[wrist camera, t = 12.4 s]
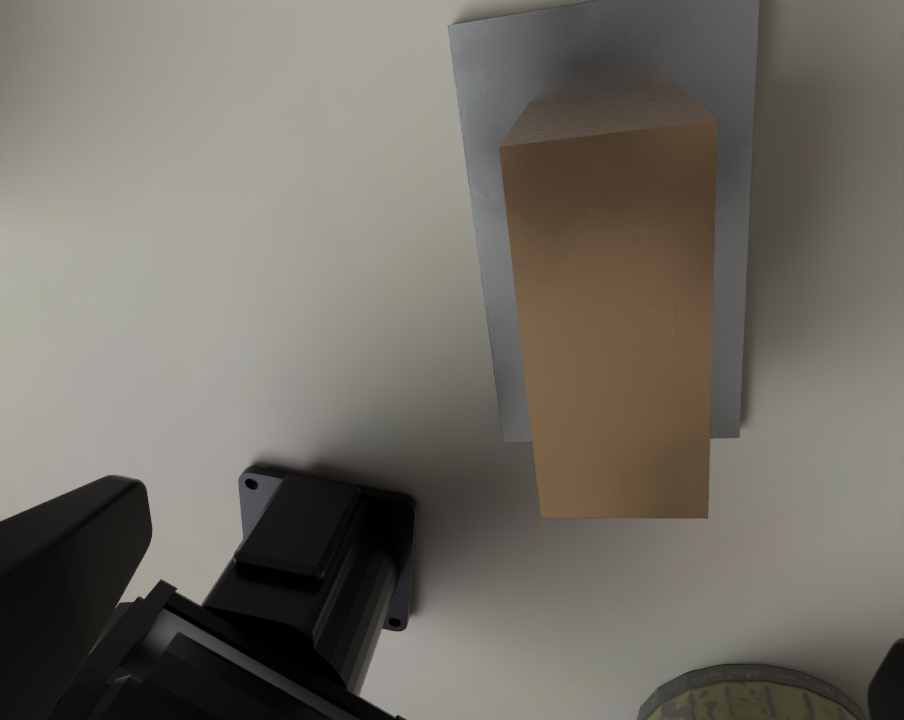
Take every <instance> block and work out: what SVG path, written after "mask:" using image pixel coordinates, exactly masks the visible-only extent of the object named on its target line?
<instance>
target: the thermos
mask: <svg viewBox="0 0 904 720" xmlns="http://www.w3.org/2000/svg"><path fill="white" fill-rule="evenodd" d="M637 720H866V719H865V717H864V715H863V713H862V711H861V710H860V708H859V707H858V706H857V705H856V704H855V703H853V702H852V701H851V700H850V699H849V698H847V697H846V696H845V695H844V694H843V693H841V692H840V691H839V690H838V689H836V688H835V687H834V686H831V685H829V684H827V683H824V682H822V681H820V680H818V679H815V678H813V677H811V676H808V675H806V674H804V673H802V672H798V671H792V670H787V669H782V668H777V667H772V666H766V665H720V666H716V667H711V668H707V669H703V670H698V671H694V672H690V673H686V674H684V675H682V676H680V677H678V678H676V679H674V680H673V681H671V682H669V683H667V684H665V685H663V686H661V687H659V688H658V689H657V690H656V691H655V692H654V693H653V694H652V695H651V697H650V698H649V699H648V700H647V701H646V702H645V703H644V704H643V705H642V706H641V708H640V711H639V715H638V718H637Z"/></svg>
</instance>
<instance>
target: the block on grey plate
mask: <svg viewBox="0 0 904 720" xmlns="http://www.w3.org/2000/svg"><path fill="white" fill-rule="evenodd" d="M759 3H760V0H598V1H592V2H586V3H580V4H574V5H568V6H562V7H556V8H550V9H544V10H538V11H532V12H525V13H519V14H513V15H507V16H501V17H495V18H489V19H483V20H477V21H471V22H465V23H459V24H453V25H447V26H448V33H449V40H450V48H451V55H452V63H453V70H454V77H455V85H456V92H457V100H458V107H459V115H460V122H461V129H462V137H463V144H464V152H465V159H466V167H467V174H468V181H469V189H470V196H471V204H472V211H473V218H474V226H475V233H476V241H477V248H478V256H479V263H480V270H481V278H482V285H483V293H484V300H485V308H486V315H487V322H488V330H489V337H490V345H491V352H492V360H493V367H494V374H495V382H496V389H497V397H498V404H499V411H500V419H501V426H502V434H503V441H504V443H505V442H532V446H533V455H534V464H535V472H536V481H537V490H538V499H539V508H540V517H541V518H708V498H709V456H710V438H739V434H740V412H741V391H742V369H743V348H744V326H745V305H746V283H747V261H748V240H749V218H750V197H751V175H752V154H753V132H754V111H755V89H756V67H757V46H758V24H759Z"/></svg>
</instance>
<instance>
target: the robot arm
mask: <svg viewBox="0 0 904 720" xmlns="http://www.w3.org/2000/svg"><path fill="white" fill-rule="evenodd" d="M251 479H254V480H255V481H256V482H257V483H255V482H253V481H252V480H251ZM238 483H239V494H240V505H241V517H242V528H243V541H242V542H241V544H240V545H239V547H238V548H237V550H236V551H235V553H234V556H233V557H232V559H231V560H230V562H229V563H228V565H227V566H226V568H225V570H224V571H223V573H222V574H221V576H220V577H219V579H218V580H217V582H216V583H215V585H214V586H213V588H212V589H211V591H210V592H209V594H208V595H207V597H206V598H205V600H204V601H203V603H202V604H201V606H200V605H199V604H197V603H195V602H193V601H192V600H190V599H188V598H186V597H185V596H183V595H181V594H179V593H178V592H176V590H177V588H176V587H174V586H172V585H170V584H169V583H167V582H165V581H163V580H162V579H161V580H160V581H159V582H158V583H157V585H156V586H155V587H154V588H153V589H152V591H151V592H150V593H149V594H148V595H147V597H146V598H145V599H143V598H142V597H140V596H139V597H138V598H137V599H136V600H135V601H134V602H123V603H119V605H118V606H117V604H118V602H119V600H120V598H121V596H122V595H123V593H124V591H125V589H126V587H127V586H128V584H129V582H130V580H131V578H132V577H133V575H134V573H135V571H136V569H137V567H138V566H139V564H140V562H141V560H142V558H143V557H144V555H145V553H146V551H147V549H148V547H149V544H150V542H151V538H152V523H151V516H150V509H149V503H148V496H147V490H146V486H145V485H144V483H143V482H142V481H140V480H138V479H133V478H129V477H124V476H119V475H108V476H105V477H103V478H100V479H98V480H96V481H93V482H91V483H89V484H86V485H84V486H82V487H79V488H77V489H75V490H72V491H70V492H68V493H65V494H63V495H61V496H58V497H56V498H54V499H51V500H49V501H47V502H44V503H42V504H40V505H37V506H35V507H33V508H30V509H28V510H26V511H23V512H21V513H19V514H16V515H14V516H12V517H9V518H7V519H5V520H2V521H0V720H406V719H404V718H402V717H401V716H399V715H397V716H396V717H394V716H393V715H391V714H389V713H387V712H386V711H384V710H382V709H380V708H379V707H377V706H375V705H373V704H372V703H370V702H368V701H366V700H365V699H363V698H361V697H359V695H360V692H361V689H362V686H363V683H364V680H365V677H366V674H367V671H368V668H369V665H370V663H371V660H372V657H373V654H374V651H375V648H376V645H377V642H378V639H379V636H380V633H381V630H382V629H386V630H391V631H403V630H404V629H406V627H407V624H408V621H409V617H410V605H411V591H412V577H413V564H414V550H415V536H416V522H417V503H416V501H415V500H414V499H413V498H412V497H410V496H408V495H406V494H401V493H396V492H391V491H385V490H380V489H375V488H369V487H364V486H358V485H353V484H348V483H342V482H337V481H332V480H326V479H321V478H316V477H310V476H305V475H299V474H294V473H289V472H283V471H278V470H273V469H267V468H262V467H257V466H250V467H248V468H246V469H245V470H244V472H243V473H242V474H241V476H240V477H239V481H238ZM398 507H403V508H405V509H406V510H407V511H403V510H400V509H399V508H398ZM116 606H117V607H116ZM115 607H116V608H115ZM114 609H115V610H114ZM396 618H397V619H396ZM867 705H868V711H869V716H870V720H904V638H900V639H898V640H897V641H895V642H894V643H893V645H892V646H891V648H890V650H889V651H888V653H887V655H886V656H885V658H884V660H883V661H882V663H881V665H880V666H879V668H878V670H877V671H876V673H875V675H874V676H873V678H872V680H871V682H870V684H869V687H868V692H867Z"/></svg>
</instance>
